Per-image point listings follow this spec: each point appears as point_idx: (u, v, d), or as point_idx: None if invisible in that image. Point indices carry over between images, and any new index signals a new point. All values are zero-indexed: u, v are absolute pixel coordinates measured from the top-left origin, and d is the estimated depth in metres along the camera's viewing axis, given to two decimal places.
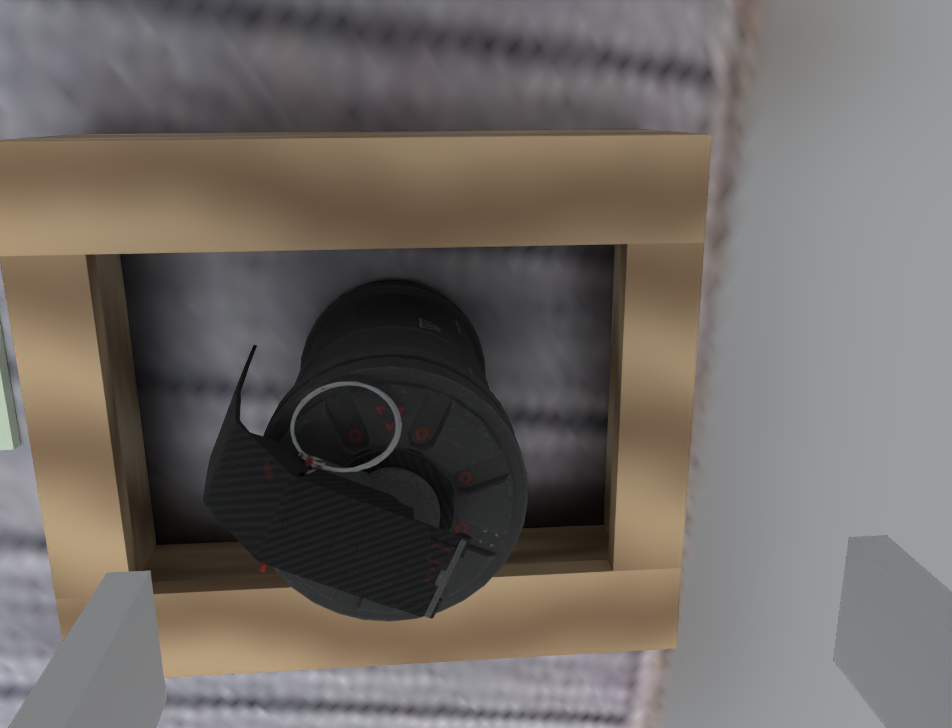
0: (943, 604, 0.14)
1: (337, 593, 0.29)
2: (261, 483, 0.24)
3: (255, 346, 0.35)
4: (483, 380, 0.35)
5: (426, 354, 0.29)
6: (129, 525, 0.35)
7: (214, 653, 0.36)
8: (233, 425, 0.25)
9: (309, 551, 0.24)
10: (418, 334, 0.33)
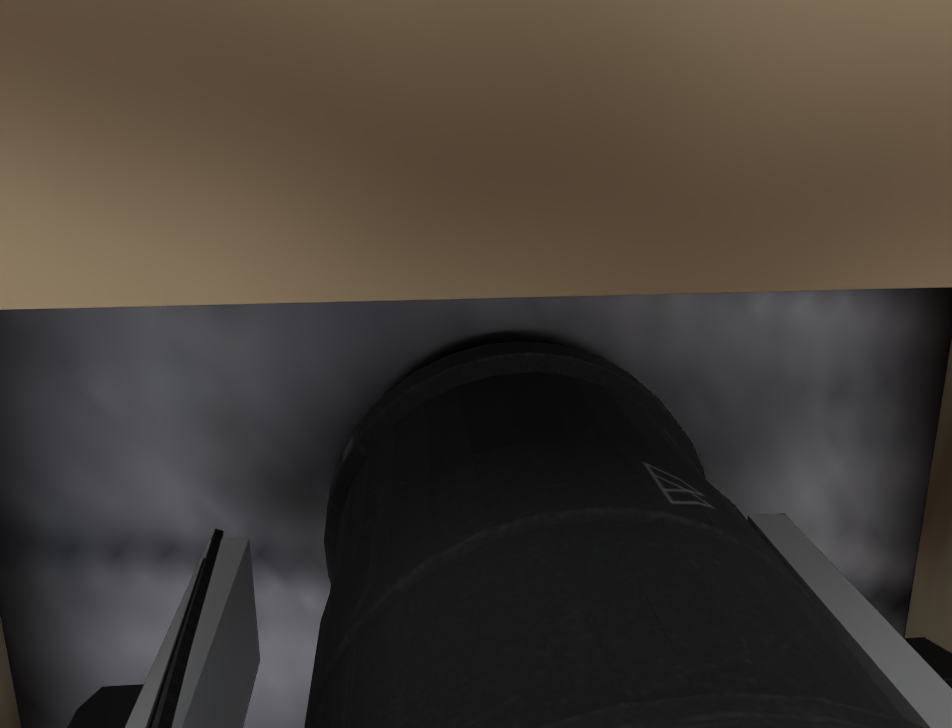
0: (822, 575, 0.15)
1: None
2: None
3: (219, 536, 0.14)
4: None
5: None
6: None
7: None
8: None
9: None
10: (687, 540, 0.11)
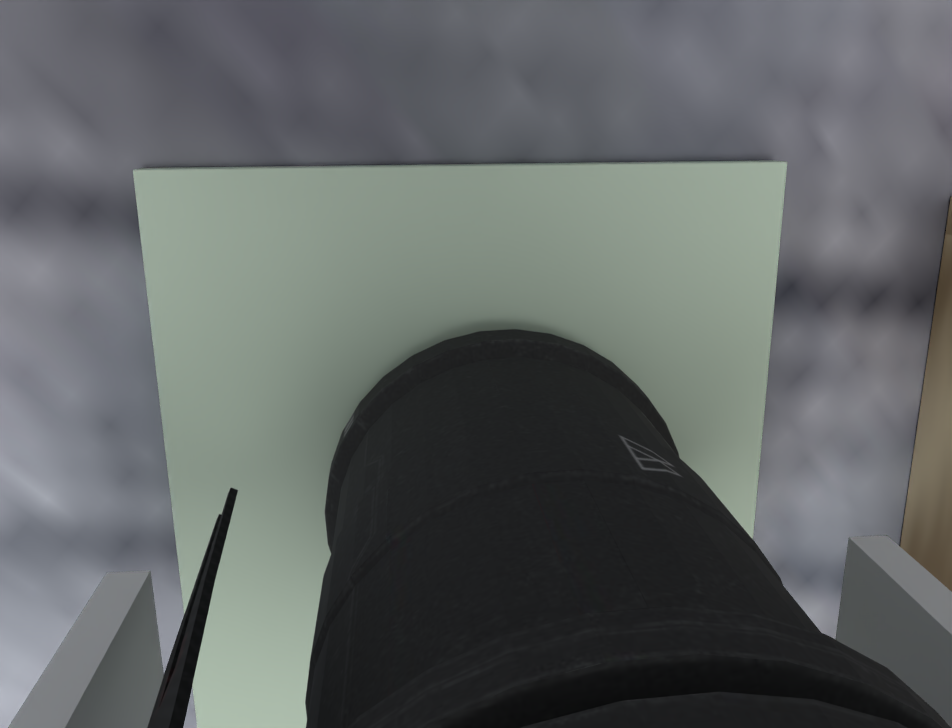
0: (943, 604, 0.14)
1: None
2: None
3: (234, 494, 0.15)
4: None
5: (795, 645, 0.09)
6: None
7: None
8: None
9: None
10: (654, 499, 0.13)
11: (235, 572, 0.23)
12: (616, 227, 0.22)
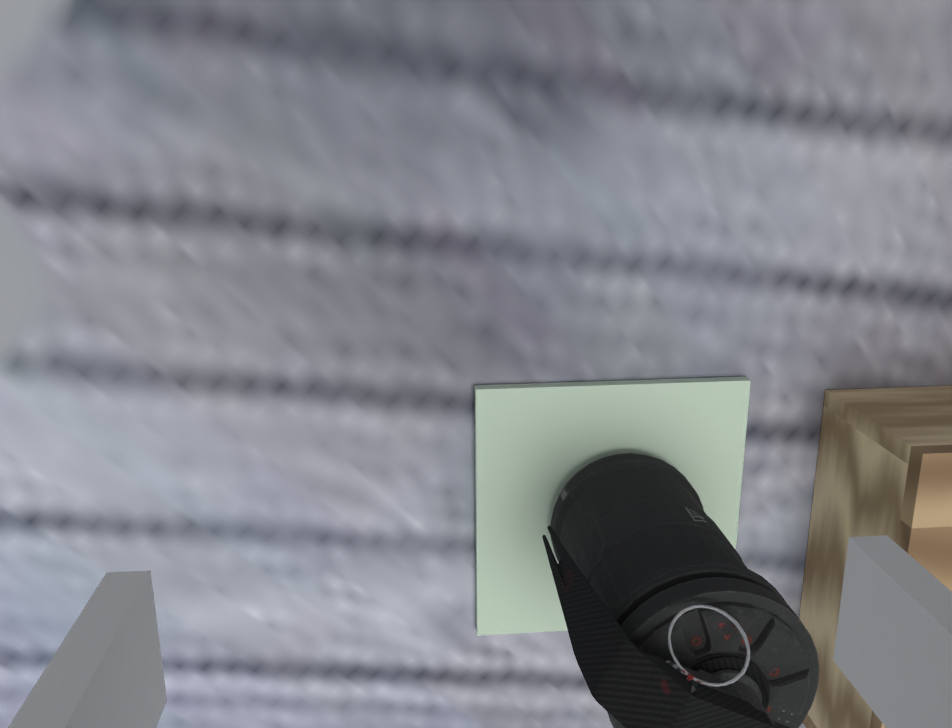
0: (943, 604, 0.14)
1: None
2: (657, 696, 0.32)
3: (551, 527, 0.43)
4: None
5: (737, 569, 0.37)
6: None
7: None
8: (624, 643, 0.33)
9: None
10: (699, 531, 0.41)
11: (501, 558, 0.52)
12: (676, 408, 0.50)
